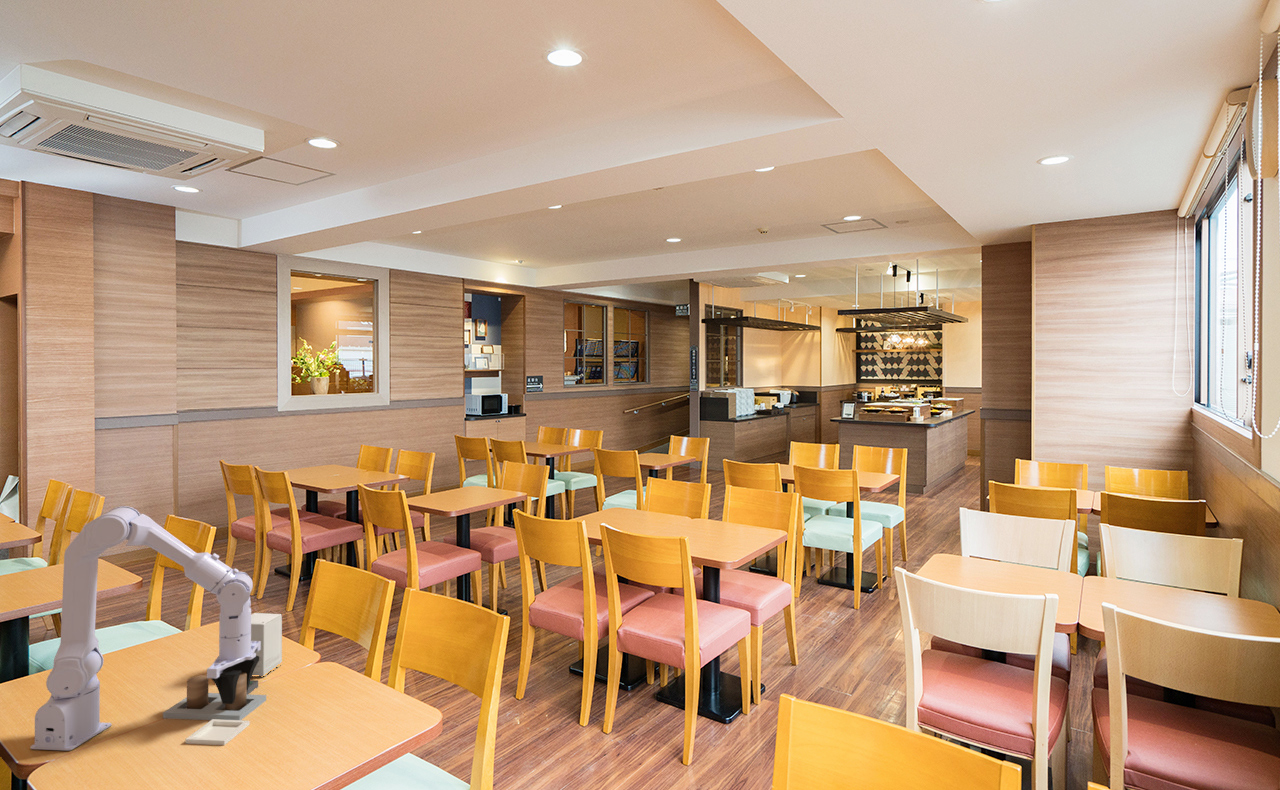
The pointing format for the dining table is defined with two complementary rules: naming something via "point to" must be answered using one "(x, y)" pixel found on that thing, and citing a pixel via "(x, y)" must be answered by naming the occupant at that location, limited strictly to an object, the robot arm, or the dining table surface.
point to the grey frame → (214, 709)
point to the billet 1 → (197, 692)
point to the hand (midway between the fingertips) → (234, 697)
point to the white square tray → (217, 732)
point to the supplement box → (267, 641)
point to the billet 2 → (239, 694)
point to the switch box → (252, 685)
